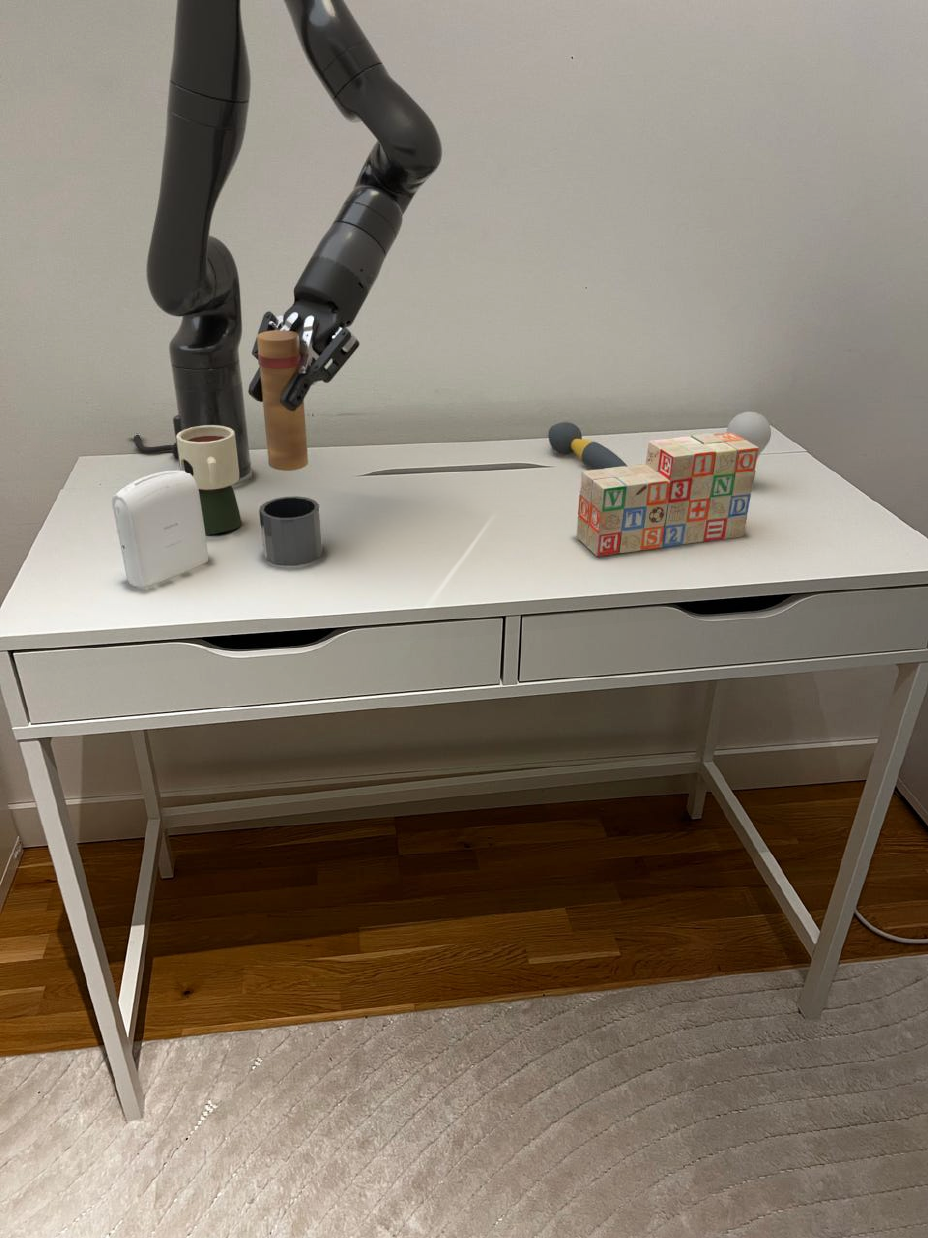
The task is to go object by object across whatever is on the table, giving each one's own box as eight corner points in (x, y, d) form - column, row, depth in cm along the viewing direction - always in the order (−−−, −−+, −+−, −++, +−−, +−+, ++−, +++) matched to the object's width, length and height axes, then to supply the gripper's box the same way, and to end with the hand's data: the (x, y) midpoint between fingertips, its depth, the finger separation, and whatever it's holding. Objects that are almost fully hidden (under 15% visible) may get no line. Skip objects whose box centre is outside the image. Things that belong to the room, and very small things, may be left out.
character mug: (185, 516, 130) (172, 423, 124) (239, 510, 133) (228, 417, 126) (194, 550, 122) (180, 451, 115) (251, 542, 124) (240, 444, 117)
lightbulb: (715, 490, 140) (726, 416, 135) (722, 475, 145) (733, 403, 140) (758, 496, 138) (771, 421, 133) (764, 481, 143) (776, 409, 138)
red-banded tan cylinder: (260, 468, 113) (248, 338, 106) (279, 454, 117) (268, 328, 110) (297, 473, 112) (287, 341, 104) (315, 459, 116) (307, 331, 108)
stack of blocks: (596, 558, 120) (604, 464, 114) (575, 538, 125) (582, 447, 119) (745, 536, 126) (760, 445, 120) (719, 517, 132) (732, 430, 125)
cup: (254, 564, 118) (248, 514, 115) (281, 540, 124) (276, 493, 121) (307, 572, 116) (303, 522, 113) (332, 548, 122) (328, 500, 119)
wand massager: (646, 478, 144) (650, 445, 141) (623, 485, 141) (626, 453, 139) (556, 442, 157) (557, 412, 155) (532, 448, 155) (534, 418, 152)
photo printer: (142, 594, 111) (124, 493, 105) (121, 582, 114) (102, 483, 108) (215, 563, 118) (202, 467, 112) (193, 553, 121) (180, 459, 115)
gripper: (278, 246, 112) (207, 372, 110) (369, 261, 105) (295, 397, 102) (314, 287, 118) (248, 407, 116) (402, 304, 111) (334, 432, 109)
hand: (271, 401), depth 109 cm, fingers closed on red-banded tan cylinder, 4 cm apart
